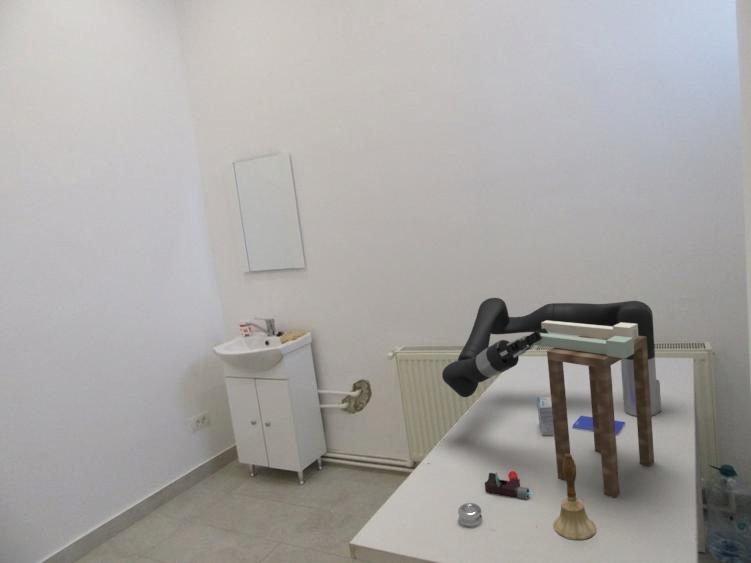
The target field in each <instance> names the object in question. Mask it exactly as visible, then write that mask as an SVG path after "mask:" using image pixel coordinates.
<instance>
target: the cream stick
mask: <svg viewBox="0 0 751 563" xmlns="http://www.w3.org/2000/svg"><path fill="white" fill-rule="evenodd" d="M541 326H542V329H543V328H545V329H546V330H547V332H548V333H549V334H558V335H567V336H576V337H579V336H586V337H595V338H604V339H610V338H612V337H614V336H621V337H631V338H633V341H634V340H636V339H638V324H634V323H622V322H621V323H619V324H616V325H614V326H613V327H612V326H602V325H591V324H580V323H569V322H558V321H547V320H546V321H544V322H541Z"/></svg>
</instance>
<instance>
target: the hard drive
mask: <svg viewBox="0 0 751 563" xmlns="http://www.w3.org/2000/svg"><path fill="white" fill-rule="evenodd" d="M624 425H625V426H626V422H625V421H620V420H615V433H616V437H618V436H619V435H620V433H621V432H622V430H623V428H624V427H625V426H624ZM571 427H572V430H578V431H584V432H590V433H591V432H592V433H594V431H593V418H592V416H586V415H580V416H579V417H578V418H577V420H576V421H575V422H573V424H572V426H571Z"/></svg>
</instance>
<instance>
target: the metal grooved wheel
mask: <svg viewBox="0 0 751 563" xmlns="http://www.w3.org/2000/svg"><path fill="white" fill-rule="evenodd" d="M457 512H458V513H457V514H458V521H459V524H460V525H461V526H463V527H466V528H475V527H478V526H480V525H481V524H482V522H483V516H482V509H481V507H480V505H478V504H476V503H473V502H467V503H463V504H461V505H460V506H459V507H458V509H457Z"/></svg>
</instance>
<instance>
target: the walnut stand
mask: <svg viewBox="0 0 751 563" xmlns="http://www.w3.org/2000/svg"><path fill="white" fill-rule="evenodd" d="M578 337H582V338H591V339H600V340H608V339H604V338H595V337H586V336H578ZM633 342H634V354H633V366H634V381H635V397H636V412H637V416H636V425H637V426H636V427H637V440H638V443H637V444H638V458H639V465H642V466H645V467H646V466H647V467H651V466H653V464H654V463H655V454H654V451H655V450H654V439H653V438H654V434H653V423H652V422H653V420H652V416H651V401H650V384H649V368H648V352H647V337H646V336H638V339H636V340H634V341H633ZM546 355H547V367H548V368H547V369H548V377H549V389H550V397H551V403H552V415H553V426H554V435H553V436H554V446H555V457H556V458H555V459H556V469H557V470H556V472H557V479H559V480H562V481H565V482H566V480H565V478H564V474H563V461H564V458H565V454H571V446H570V431H569V419H568V412H567V411H568V410H567V409H568V408H567V397H566V396H567V395H566V386H565V373H564V363H567V364H573V365H579V366H580V365H581V366H586V367H588V375H589V377H588V379H589V388H590V389H589V390H590V391H589V392H590V403H591V415H592V416H591V417H592V418H593V431H594V432H593V441H594V444H593V445H594V452H597V453H600V455H601V456H600V457H601V469H602V472H601V474H602V483H603V495H604V496H607V497H610V498H612V499H616V497H618V496H619V495H620V494H621V493H620V481H619V480H620V478H619V476H620V475H619V464H618V463H619V462H618V452H617V451H618V450H617V448H618V446H617V436H616V433H615V421H616V419H615V408H614V407H615V406H614V395H613V394H614V393H613V379H612V365H614V364H616V363H618V362H619V361H621V359H623V358H618V357H611V356H607V355H605V354H597V353H590V352H583V351H575V350H568V349H561V348H553V347H552V349H549V350H547V351H546Z"/></svg>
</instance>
